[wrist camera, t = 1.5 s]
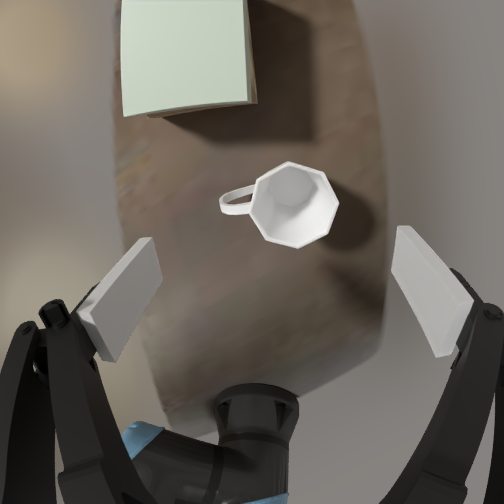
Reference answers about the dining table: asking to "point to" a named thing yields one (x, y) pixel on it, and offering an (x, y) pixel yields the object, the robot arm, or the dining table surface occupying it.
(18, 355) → the robot arm
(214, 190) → the dining table surface
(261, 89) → the dining table surface
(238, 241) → the dining table surface
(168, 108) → the top block
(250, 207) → the cup
